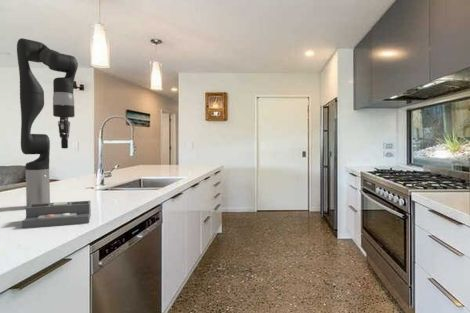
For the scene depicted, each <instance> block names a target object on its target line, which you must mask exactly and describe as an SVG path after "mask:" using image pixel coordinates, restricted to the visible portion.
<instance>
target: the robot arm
mask: <svg viewBox="0 0 470 313" xmlns="http://www.w3.org/2000/svg"><path fill="white" fill-rule="evenodd" d="M16 56H17V64H18V72H19V74H18V75H19V103H20V116H21V117H20V118H21V120H20V123H21V126H20V129H21V130H20V150H21V152H22V154H23V155H39V156H38V158H35V159H34V160H32V161H29V162H27V163H25V165H24V166H25V190H26V191H25V199H26V202H25V203H26V208H27V207H28V206H29V205H30V204H41V203H51V193H50V192H51V189H50V188H51V184H50V180H51V179H50V150H51V149H50V148H51V139H50V137H49V135H48V134H46V133H32V132H31V131H32V126H33V124H34V122H35V120H36V118H37V117H38V115H40V114H41V112H42V110H43V109H44V107H45V92H44V89H43V87H42V85H41V84H40V82H39V81H38V79H37V78H36V76H35V75H34V73H33V71H32V69H31V66H30V62H32V63H42V64H43V65H45V66H46V67H48V69H49V70H51V71H53V72H59V73H65V76H64V77H62V76H61V77H55V78H54V79H53V83H52V84H53V85H52V86H53V88H52V89H53V90H52V91H53V94H52V116H53V117H56V118H59V121H57V126H58V133H59V138H60V140H61V141H60V145H61V149H68V148H69V138H70V133H71V131H70V130H71V129H70V128H71V122H70V121H69V118H75V116H76V115H75V98H74V96H75V95H74V82H75V79H76V74H77V71H78V66H79V63H78V62H79V61H78V60H77V59H76V57H75V56H73V55H70V54H65V53H61V52H60V51H56V50H53V49H50V48H49V47H48V46H47V45H46V44H44V43H42V42H40V41H36V40H33V39H26V38H22V37H21V38H19V39H18V41H17V42H16Z"/></svg>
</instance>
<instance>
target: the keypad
mask: <svg viewBox="0 0 470 313" xmlns="http://www.w3.org/2000/svg"><path fill="white" fill-rule="evenodd" d="M62 202H63V201H61V202H60V201H59V202H57V203H62ZM67 202H68V205H60V206H52V205H53V204H54V203H55V202H50V203H41V204H30V205H29V206H28V207H27V206H26V207H25V218H24V219H23V220H22V229H30V228H43V227H55V226H67V225H80V224H89V223H90V220H91V216H92V215H91V214H92V213H91V212H92V209H91V208H92V207H91V206H92V205H91V200H81V201H80V200H79V201H77V200H76V201H67Z"/></svg>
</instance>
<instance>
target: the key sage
mask: <svg viewBox="0 0 470 313" xmlns="http://www.w3.org/2000/svg"><path fill="white" fill-rule="evenodd" d="M61 202H62V203H58V202H53V203H54V204H53V205H52V206H60V205H68V202H69V201H64V202H63V201H61Z"/></svg>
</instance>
